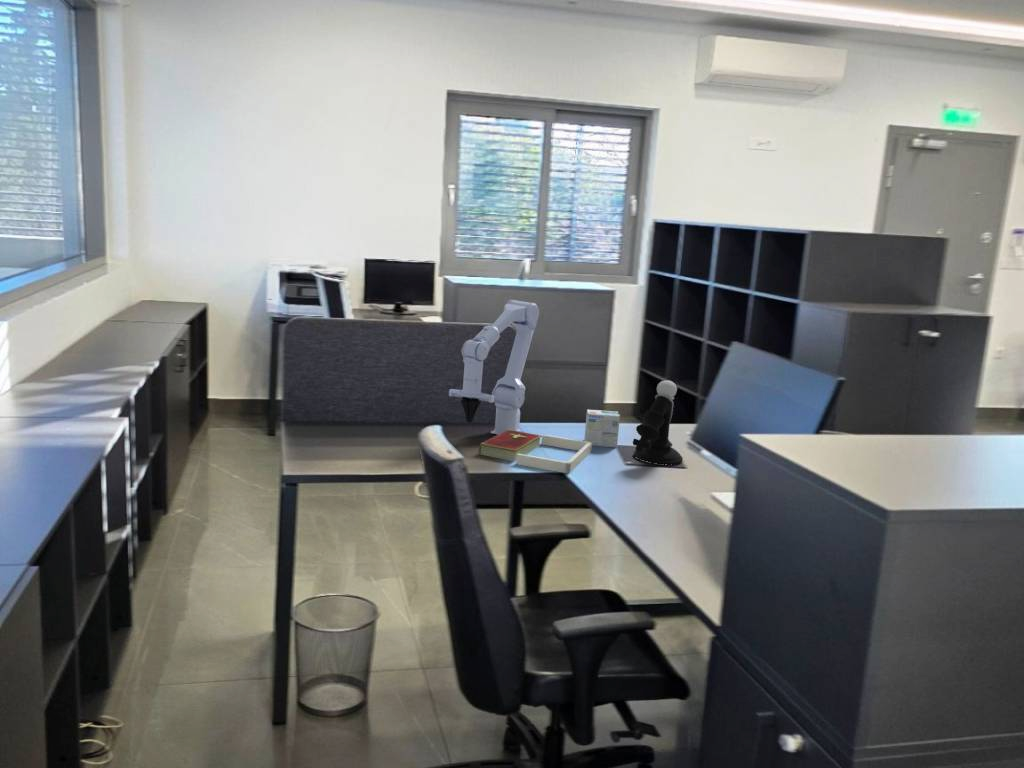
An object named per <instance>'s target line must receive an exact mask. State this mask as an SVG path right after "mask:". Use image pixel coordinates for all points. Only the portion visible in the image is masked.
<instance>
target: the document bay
mask: <svg viewBox="0 0 1024 768" xmlns="http://www.w3.org/2000/svg"><path fill="white" fill-rule="evenodd" d="M541 436H542V437H541V445H543V446H550V447H556V448H562V449H568V450H573V451H577V452H576V453H575V454H573V456H572V457H571V458H570V459H569V460H567V461H566V460H565V461H563V460H557V459H553V458H552V459H551V458H547V457H540V456H534V455H529V454H526V455H524V454H519V453H518V454H517V459H516V461H515V462H516V463H515V464H516V465H518V466H524V467H530V468H536V469H541V470H547V471H552V472H559V473H564V474H571V472H572V471H574V469H576V467H578V466H579V464H581V463H582V461H584V459H585V458H587V457H588V456H589V455H590V454H591V453H592V450H593V449H592V448H593V446H592V442H586V441H584V440H579V439H575V438H574V439H573V438H568V437H561V436H555V435H549V434H542V435H541Z"/></svg>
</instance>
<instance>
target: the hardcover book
mask: <svg viewBox="0 0 1024 768" xmlns="http://www.w3.org/2000/svg"><path fill="white" fill-rule="evenodd" d="M541 439H542V435H541V434H536V433H530V432H526V431H525V432H524V431H521V432H520V431H515V430H509V429H508V430H506V431H504V432H502V433H500V434H499V435H497V434H496V435H495V436H493V437H491V438H489V439H486V440H484V441H483V442H481V443H480V444H479V445H478V446H479V447H478V455H479V456H481V455H482V456H487V457H492V458H495V459H496V458H497V459H500V460H507V461H509V462H510V461H512V462H516V459H517V454H518V453H519V454H524V455H528V453H530V452H532V451H534V450H535V449H537V448H539V447H540V445H541V444H540V443H541Z"/></svg>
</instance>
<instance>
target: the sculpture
mask: <svg viewBox="0 0 1024 768" xmlns="http://www.w3.org/2000/svg"><path fill="white" fill-rule="evenodd" d="M677 391H678V387H677V385H676V383H674V382H673V381H672V380H667V379H666V380H661V381H660V382H658V384H657V386H656V393H657V394H655V396H654V398H655V399H654V401H653V403H652V405H651V406H650V409H649V410H646V411H645V412H644V414H643V420H642V422H641V423H640V424H638V425H637V426H636V428H635V429H636V433H637V434H638V435H639V436H640V438H639V439H638V438H633V440H632V445H633V446H635V450H634V451H633V457H634V456H635V457H637V458H639V459H641V460H644V461H648V462H651V463H657V464H664V465H665V464H667V465H671V464H672V465H673V466H675V465H674V464H679V465H681V464H682V463H683V460H684V459H683V458H684V457H683V456H682V455H681V453H680V452H679V451H677V450H676V449H675V448H673V443H672V442H671V441H670V439H669V437H670V435H669V434H670V424H671V421H672V420H671V419H672V416H673V413H674V412H673V411H674V409H673V408H674V405H675V404H674V401H673V400H674V399H675V395H677ZM635 457H634V458H635ZM681 462H682V463H681ZM680 463H681V464H680Z"/></svg>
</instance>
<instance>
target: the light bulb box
mask: <svg viewBox="0 0 1024 768" xmlns="http://www.w3.org/2000/svg"><path fill="white" fill-rule="evenodd" d="M585 415H586V417H585V429H584V440H583V441H586V442H592V447H594V446H595V447H605V448H606V447H607V448H618V439H619V429H620V420H621V419H620V417H621V415H620V413H619V411H612V410H601V409H600V410H599V409H586V414H585Z"/></svg>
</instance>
